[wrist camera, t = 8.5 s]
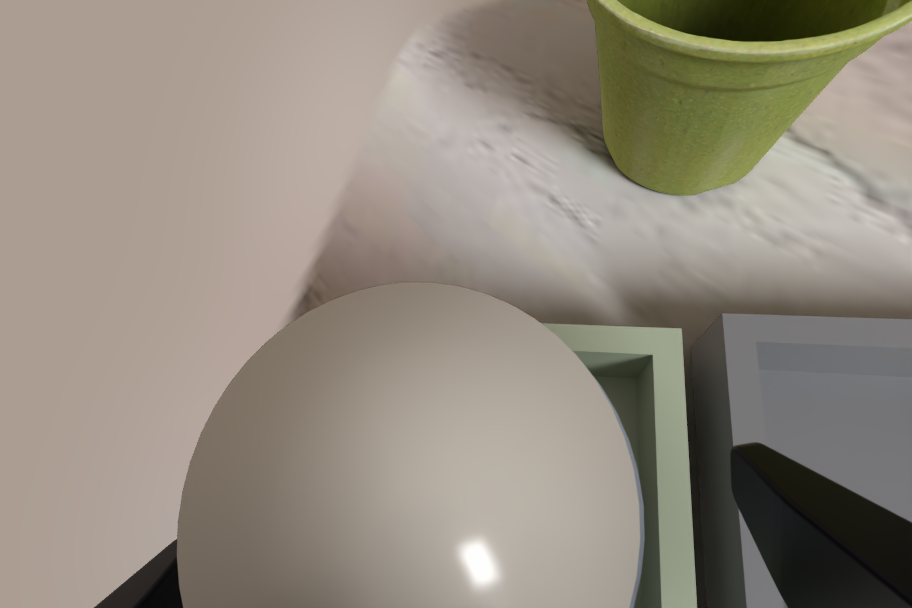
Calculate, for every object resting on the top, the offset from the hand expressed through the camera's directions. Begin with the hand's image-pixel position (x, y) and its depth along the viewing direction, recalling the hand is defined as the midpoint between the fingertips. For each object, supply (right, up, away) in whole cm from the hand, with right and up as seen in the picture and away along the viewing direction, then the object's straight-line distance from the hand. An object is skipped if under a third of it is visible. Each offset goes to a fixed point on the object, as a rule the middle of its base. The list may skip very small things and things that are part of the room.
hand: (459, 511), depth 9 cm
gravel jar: (+1, -3, +8) cm, 9 cm away
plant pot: (+9, +10, +12) cm, 18 cm away
